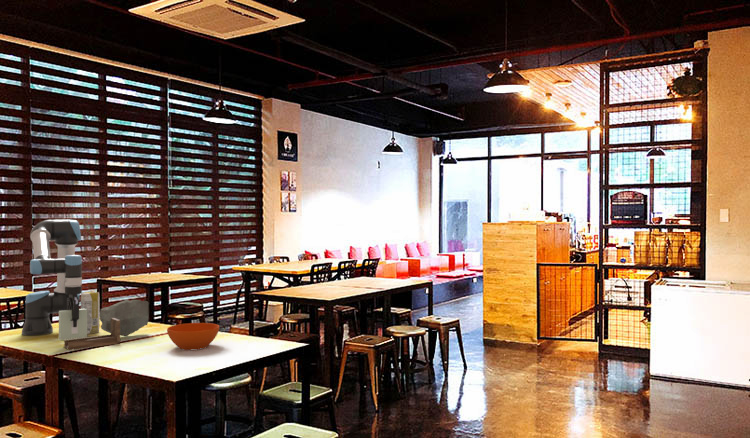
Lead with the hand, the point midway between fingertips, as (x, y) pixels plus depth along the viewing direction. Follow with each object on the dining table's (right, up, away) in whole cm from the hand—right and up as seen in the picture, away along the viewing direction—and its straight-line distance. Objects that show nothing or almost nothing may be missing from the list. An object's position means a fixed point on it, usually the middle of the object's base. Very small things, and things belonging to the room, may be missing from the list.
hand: (73, 332), depth 291 cm
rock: (+14, -8, +28) cm, 32 cm away
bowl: (+60, -8, +2) cm, 60 cm away
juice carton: (-11, -8, +40) cm, 42 cm away
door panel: (0, -3, 0) cm, 3 cm away
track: (+7, -7, +6) cm, 12 cm away
